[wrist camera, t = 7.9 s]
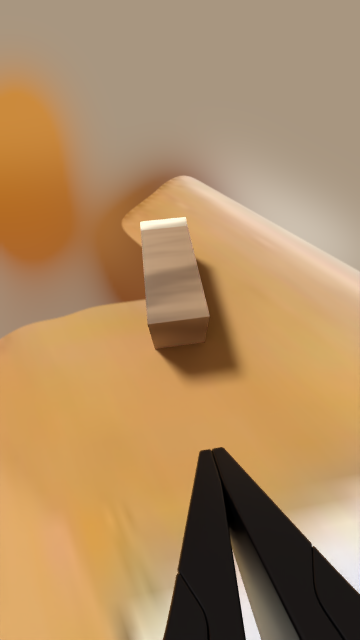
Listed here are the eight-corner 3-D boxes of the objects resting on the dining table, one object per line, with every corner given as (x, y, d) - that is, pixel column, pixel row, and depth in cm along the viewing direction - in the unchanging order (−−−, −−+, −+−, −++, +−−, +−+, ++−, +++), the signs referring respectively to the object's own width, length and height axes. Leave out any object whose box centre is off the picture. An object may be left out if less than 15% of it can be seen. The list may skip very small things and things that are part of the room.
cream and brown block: (209, 316, 17) (185, 217, 24) (147, 324, 17) (140, 221, 24) (204, 342, 22) (185, 252, 28) (155, 348, 21) (147, 256, 28)
